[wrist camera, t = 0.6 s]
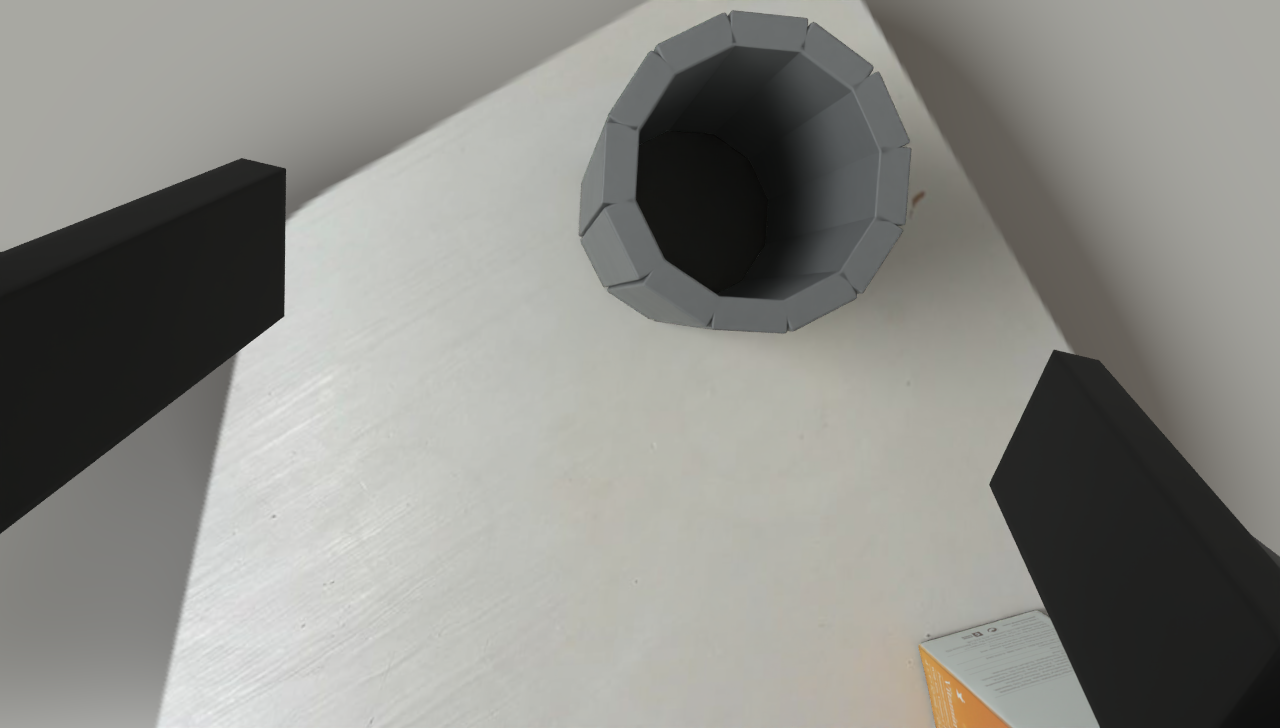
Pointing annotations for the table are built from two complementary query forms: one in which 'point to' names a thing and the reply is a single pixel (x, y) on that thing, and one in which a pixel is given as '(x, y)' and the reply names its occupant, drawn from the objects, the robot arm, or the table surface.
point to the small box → (1005, 677)
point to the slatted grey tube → (756, 171)
